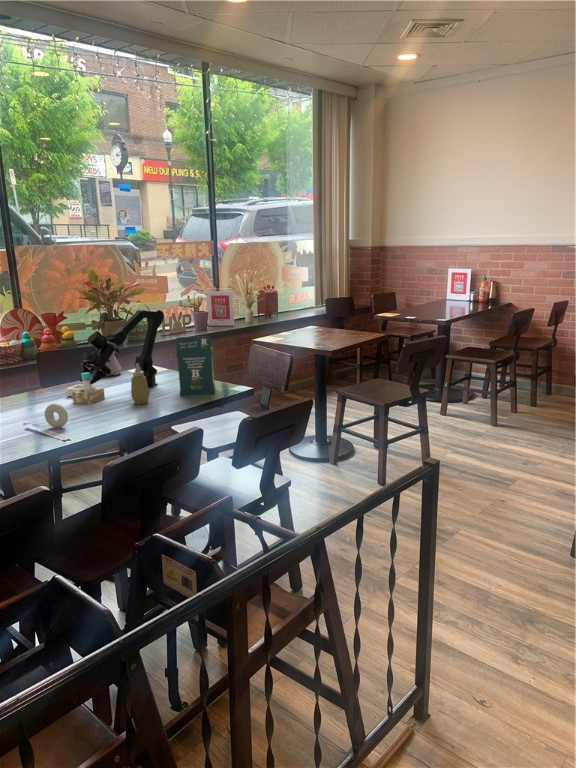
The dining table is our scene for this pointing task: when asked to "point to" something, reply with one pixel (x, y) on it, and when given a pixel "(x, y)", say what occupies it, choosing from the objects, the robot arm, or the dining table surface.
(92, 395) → the socket block
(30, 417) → the dining table surface
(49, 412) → the donut
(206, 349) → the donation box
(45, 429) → the dining table surface
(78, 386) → the holster
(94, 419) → the dining table surface
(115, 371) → the coffee pot
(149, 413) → the dining table surface
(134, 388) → the squeeze bottle
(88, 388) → the plug
